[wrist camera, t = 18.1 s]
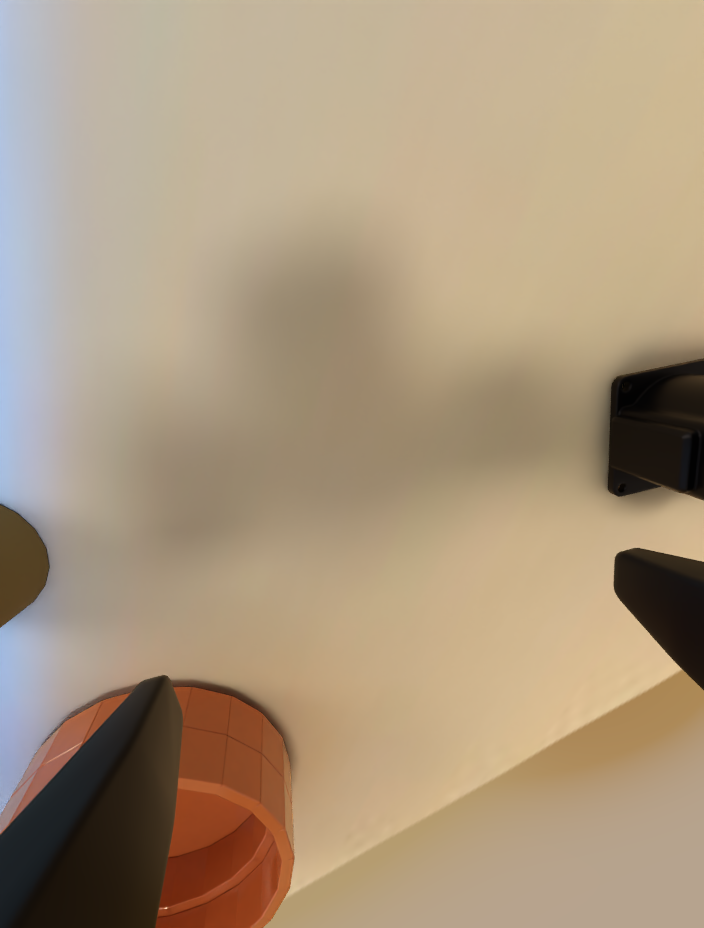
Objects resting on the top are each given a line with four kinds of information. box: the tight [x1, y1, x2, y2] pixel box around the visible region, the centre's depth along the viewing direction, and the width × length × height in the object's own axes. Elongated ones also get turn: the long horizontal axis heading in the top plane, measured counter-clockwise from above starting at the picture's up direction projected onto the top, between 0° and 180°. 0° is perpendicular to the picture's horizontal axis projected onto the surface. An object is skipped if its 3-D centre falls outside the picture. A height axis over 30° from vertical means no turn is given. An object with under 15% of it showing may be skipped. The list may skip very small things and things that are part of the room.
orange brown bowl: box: [0, 687, 294, 928], centre depth 20 cm, size 13×13×5 cm
